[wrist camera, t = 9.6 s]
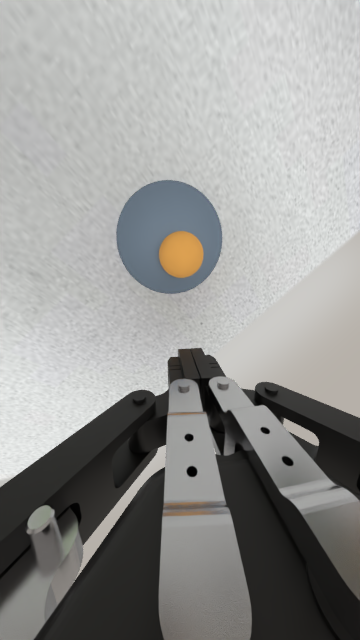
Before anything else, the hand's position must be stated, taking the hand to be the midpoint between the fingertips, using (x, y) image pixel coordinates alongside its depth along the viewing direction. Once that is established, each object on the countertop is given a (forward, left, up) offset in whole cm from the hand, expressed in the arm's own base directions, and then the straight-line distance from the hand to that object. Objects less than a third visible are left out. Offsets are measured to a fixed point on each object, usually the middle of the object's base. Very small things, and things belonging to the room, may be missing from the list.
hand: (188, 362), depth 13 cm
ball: (+1, +7, -14) cm, 16 cm away
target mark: (0, +9, -17) cm, 19 cm away
